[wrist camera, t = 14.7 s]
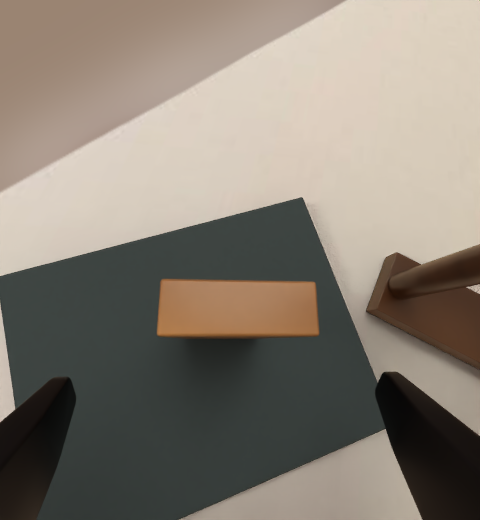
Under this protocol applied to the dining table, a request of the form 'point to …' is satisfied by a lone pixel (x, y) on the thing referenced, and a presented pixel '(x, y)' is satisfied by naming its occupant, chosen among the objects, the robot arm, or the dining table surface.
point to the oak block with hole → (237, 309)
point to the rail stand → (433, 301)
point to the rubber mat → (185, 370)
